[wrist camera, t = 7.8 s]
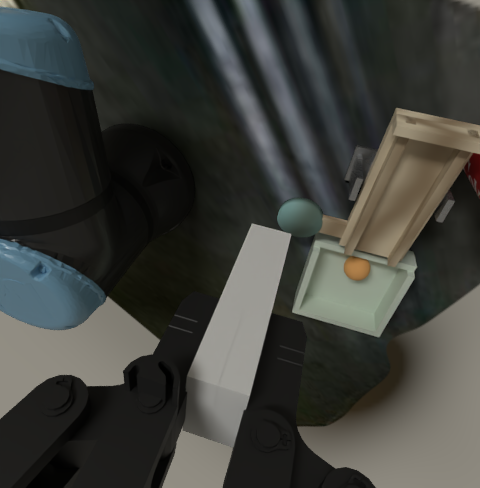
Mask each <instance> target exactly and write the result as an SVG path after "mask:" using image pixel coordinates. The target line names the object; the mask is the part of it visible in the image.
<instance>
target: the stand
mask: <svg viewBox="0 0 480 488" xmlns="http://www.w3.org/2000/svg"><path fill="white" fill-rule="evenodd" d="M377 151H378V149H373V148H369V147H364V146H360V145H356V148H355V151H354V154H353V156H352V159H351V162H350V165H349V168H348V171H347V173H346V176H345V180H347V181H349V200H353V201H355V199H356V197H357V194H358V192H359V189H360V186H361V184H364V181H365V179H366V177H367V174H368V172H369V170H370V167H371V165H372V163H373V161H374V158H375V156H376V154H377ZM454 202H455V200H454V198H453V195H452V193H451V191H450V189H449V190H448V192H447V193H446V195H445V196H444V198H443V199H442V201H441V202H440V204H439V205H438V207H437V208H436V210H435V211H434V216H435V219H436V221H438V222H442V223H443V221H444V219H445V218H446V216H447V214H448V212H449V211H450V209H451V207H452V206H453V204H454Z"/></svg>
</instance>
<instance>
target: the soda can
mask: <svg viewBox="0 0 480 488" xmlns="http://www.w3.org/2000/svg"><path fill="white" fill-rule="evenodd" d="M463 170H464V172H465V173H466V175H467V177H468V179H469V181H470V182H471V184H472V186H473V188H474V190H475V191H476V193H477V195H478V197H479V199H480V154H477V153H473V154H472V156H471V157H470V159H469V160H468V162H467V163H466V165H465V166H464V168H463Z"/></svg>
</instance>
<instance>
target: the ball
mask: <svg viewBox="0 0 480 488" xmlns="http://www.w3.org/2000/svg"><path fill="white" fill-rule="evenodd" d="M370 269H371V268H370V263H369V261H368V260H366V259H363V258H359V257H355V256H350V257H349V258H348V259H347V260H346V261H345V263H344V272H345V274H346V276H347V277H349V278H350V279H352V280H356V281H359V280H363V279H365V278H366V277H367V276H368V275H369V273H370Z"/></svg>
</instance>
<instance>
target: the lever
mask: <svg viewBox="0 0 480 488" xmlns="http://www.w3.org/2000/svg"><path fill="white" fill-rule="evenodd" d="M473 153H477V154H480V126H479V125H475V124H470V123H465V122H460V121H456V120H451V119H446V118H442V117H437V116H432V115H427V114H423V113H418V112H413V111H409V110H404V109H399V108H396V110H395V112H394V114H393V117H392V119H391V121H390V124H389V126H388V128H387V131H386V133H385V135H384V137H383V140H382V142H381V144H380V147H379V149H378V151H377V154H376V156H375V158H374V161H373V163H372V165H371V167H370V170H369V172H368V174H367V177H366V179H365V181H364V184H363V186H362V188H361V190H360V193H359V195H358V197H357V200H356V202H355V204H354V207H353V209H352V211H351V214H350V216H349V218H348V220H343V219H339V218H335V217H331V216H327V215H323V212H322V210H321V208H320V207H319V206H318V205H317V204H316V203H315V202H313V201H311V200H309V199H305V198H292V199H289V200H287V201H285V202H284V203H283V204H282V205H281V207H280V210H279V213H278V217H277V220H278V224H279V226H280V227H281V228H282V229H283V230H284V231H285V232H286V233H290V234H291V235H292V236H295V237H310V236H313V235H315V234H316V233H318V232H320V233H323V234H327V235H331V236H335V237H339V238H340V240H339V245H342V246H345V250H344V254H346V255H350V256H351V255H352V253H353V251H354V249H357V250H361V251H365V252H368V253H372V254H376V255H380V256H384V257H388V266H391V267H396V265H397V263H398V262H399V261H402V259H403V258H404V256H405V255H406V253H407V252H408V250H409V249H410V247H411V246H412V244H413V243H414V241H415V240H416V238H417V237H418V235H419V234H420V232H421V231H422V229H423V228H424V226H425V225H426V223H427V222H428V220H429V219H430V217H431V216H432V214H433V213H434V211H435V210H436V208H437V207H438V205H439V204H440V202H441V201H442V199H443V198H444V196H445V195H446V193H447V192H448V190H449V189H450V187H451V186H452V184H453V183H454V181H455V180H456V178H457V177H458V175H459V174H460V172H461V171H462V169H463V168H464V166H465V165H466V163H467V162H468V160H469V159H470V157H471V156H472V154H473Z"/></svg>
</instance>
